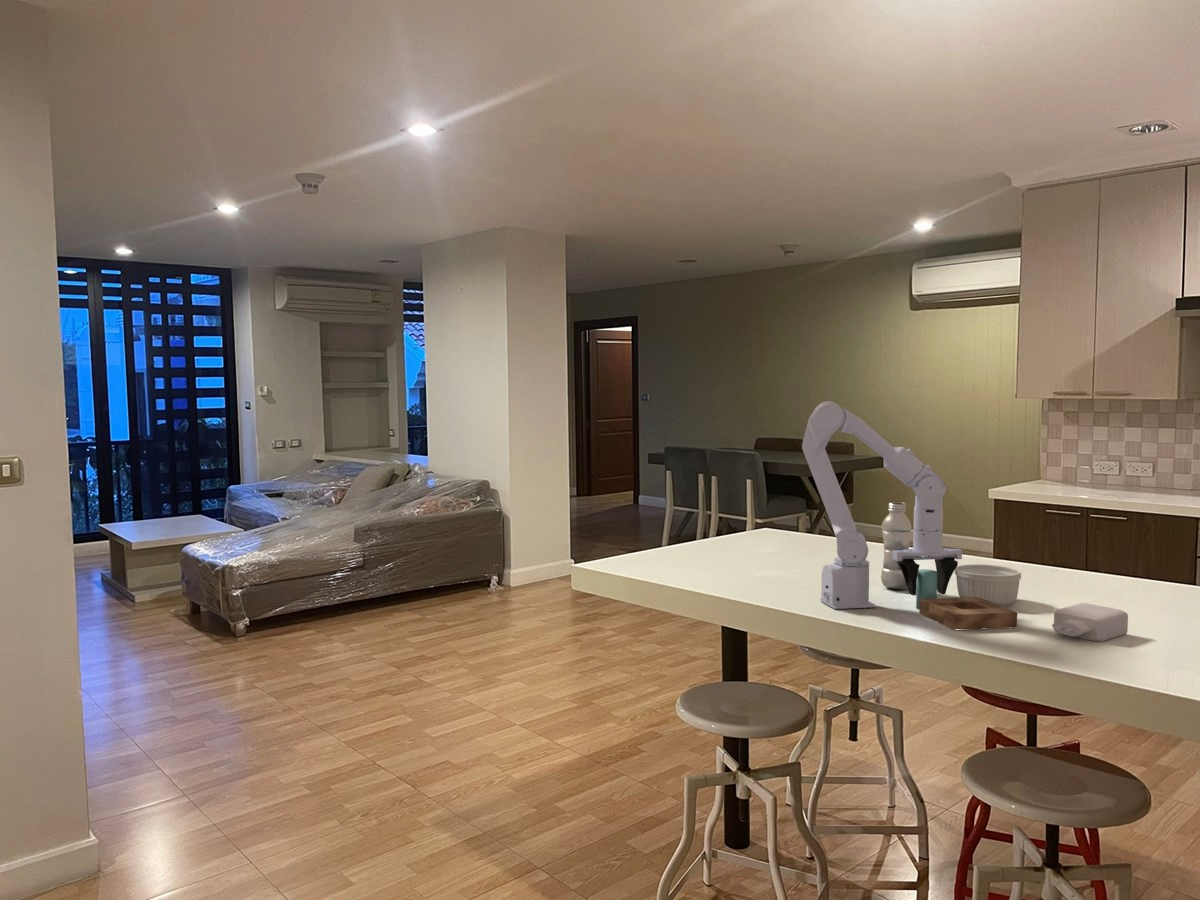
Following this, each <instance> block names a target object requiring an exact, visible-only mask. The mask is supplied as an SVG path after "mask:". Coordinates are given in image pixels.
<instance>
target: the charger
mask: <svg viewBox="0 0 1200 900" xmlns="http://www.w3.org/2000/svg"><path fill="white" fill-rule="evenodd" d="M1051 626H1052V628H1053V630H1054V631H1055V632H1056V633H1058V634H1061V635H1066V636H1070V637H1076V638H1079V639H1083V640H1084V639H1085V640H1089V641H1093V642H1098V643H1099V642H1100V643H1102V642H1105V641H1108V640H1111V639H1115V638H1117V637H1120V636H1124V635H1126V634H1127V633H1128V629H1129V627H1128V626H1129V614H1128V613H1127V612H1126V611H1125V610H1122V609H1118V608H1114V607H1107V606H1103V605H1097V604H1092V603H1087V602H1081V603H1076V604H1074V605H1070V606H1065V607H1062V608H1058V609H1055V610H1054V612H1053V623H1052V625H1051Z"/></svg>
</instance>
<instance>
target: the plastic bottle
mask: <svg viewBox="0 0 1200 900" xmlns="http://www.w3.org/2000/svg"><path fill="white" fill-rule="evenodd" d="M906 505H907V504H906V503H905V502H896V501H895V502H888V509H887V511H888V512H889V513H888V514H887V515H886V517H885V518H884V519H883V521H882V523H881V531H882V532H881V533H882V538H883V563H882V569H881V574H880V580H881V583H882V585H883V587H885V588H889V589H893V590H902V589H907V585H906V582H905V578H904V576H903V573H902V571H901V569H900V567H899V565H898V563H897V561H895V560H893V551H896V550H906V549H910V540H911V534H912V524H911V521H910V520H909V518H908V516H907V515H906V514H905V513H906V512H907V509H906V508H907V507H906Z"/></svg>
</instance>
